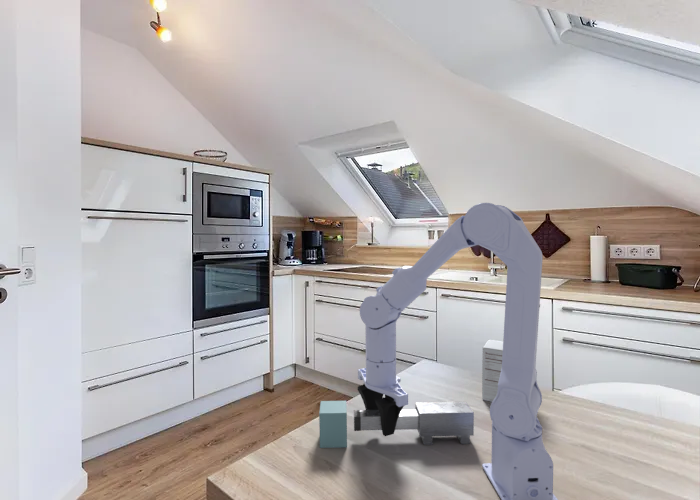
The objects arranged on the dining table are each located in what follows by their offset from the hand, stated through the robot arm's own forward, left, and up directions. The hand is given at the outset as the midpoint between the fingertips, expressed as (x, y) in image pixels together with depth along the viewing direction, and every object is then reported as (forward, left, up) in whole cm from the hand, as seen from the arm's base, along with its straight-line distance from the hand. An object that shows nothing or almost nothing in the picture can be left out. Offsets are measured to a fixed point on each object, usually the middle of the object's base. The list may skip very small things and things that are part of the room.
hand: (381, 428), depth 73 cm
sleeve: (0, -12, -2) cm, 12 cm away
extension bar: (0, -3, 0) cm, 3 cm away
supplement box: (+17, -30, -2) cm, 35 cm away
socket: (0, +9, -2) cm, 9 cm away
